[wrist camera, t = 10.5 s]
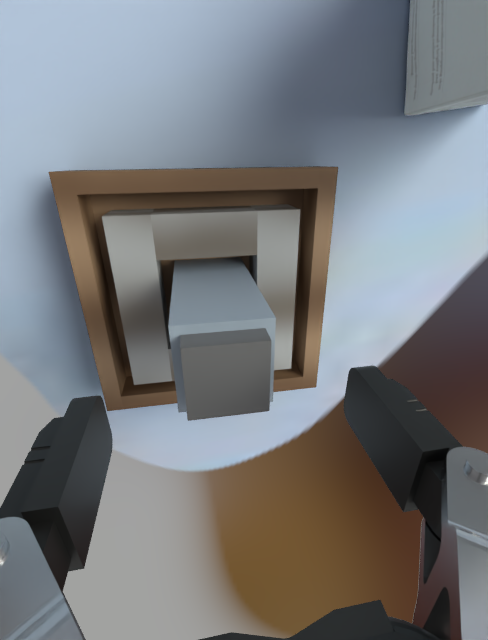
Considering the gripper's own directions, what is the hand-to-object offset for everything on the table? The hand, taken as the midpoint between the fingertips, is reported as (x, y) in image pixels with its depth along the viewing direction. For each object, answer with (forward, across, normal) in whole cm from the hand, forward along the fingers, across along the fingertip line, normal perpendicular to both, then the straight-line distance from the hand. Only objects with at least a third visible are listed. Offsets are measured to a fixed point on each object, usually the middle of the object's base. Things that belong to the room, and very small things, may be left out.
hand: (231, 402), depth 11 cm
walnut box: (+12, 0, 0) cm, 12 cm away
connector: (+11, 0, 0) cm, 11 cm away
